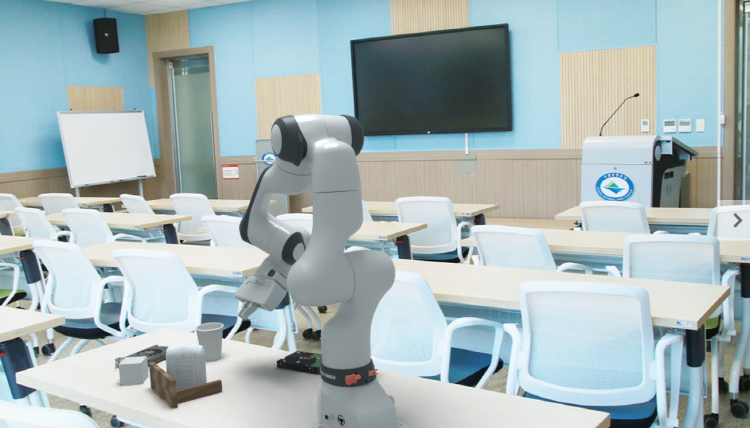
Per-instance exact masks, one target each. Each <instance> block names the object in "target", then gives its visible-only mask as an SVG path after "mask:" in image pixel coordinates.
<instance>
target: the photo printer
mask: <svg viewBox="0 0 750 428" xmlns="http://www.w3.org/2000/svg"><path fill="white" fill-rule="evenodd" d="M167 347H168V348H167V350H166V359H165V366H166V372H167V373H168V374H169V375H170V376H172V377H173V378H174V379H175V380H176V390H180V389H184V388H188V387H192V386H196V385H200V384H204V383H208V382H207V368H206V367H207V365H206V363H207V362H206V361H205V352H204V347H203V346H201V345H199V344H196V343H189V342H188V343H178V344H174V345H172V346H167Z"/></svg>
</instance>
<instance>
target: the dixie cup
mask: <svg viewBox="0 0 750 428" xmlns="http://www.w3.org/2000/svg"><path fill="white" fill-rule="evenodd" d="M224 326H225V325H224V323H221V322H205V323H202V324H198V325H197V326H196V327H195V332H196V336H197V341H198V345H201V346H203V347H204V352H205V362H214V361H218V360H220V359H222V348H223V330H224V329H223V328H224Z"/></svg>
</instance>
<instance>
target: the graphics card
mask: <svg viewBox="0 0 750 428" xmlns="http://www.w3.org/2000/svg"><path fill="white" fill-rule="evenodd" d="M168 347H169V346H166V345H160V346H159V344H154V345H152V346H149V347H146V348H144V349H141V350H139V351H136V352H135V353H132V354H129V355H127V356H124V357H122V356H121V357H120V356H119V357H116V358H115V359H114V361H115V362H114V364H115V369H119V364H120V363H121V362H122V360H123V359H124V358H125V357H142V356H147V363H148V373H150V370H149V363H151V362H154V363H155V364H157V363H158V362H160V361H163V360H166V350H167V348H168Z"/></svg>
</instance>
